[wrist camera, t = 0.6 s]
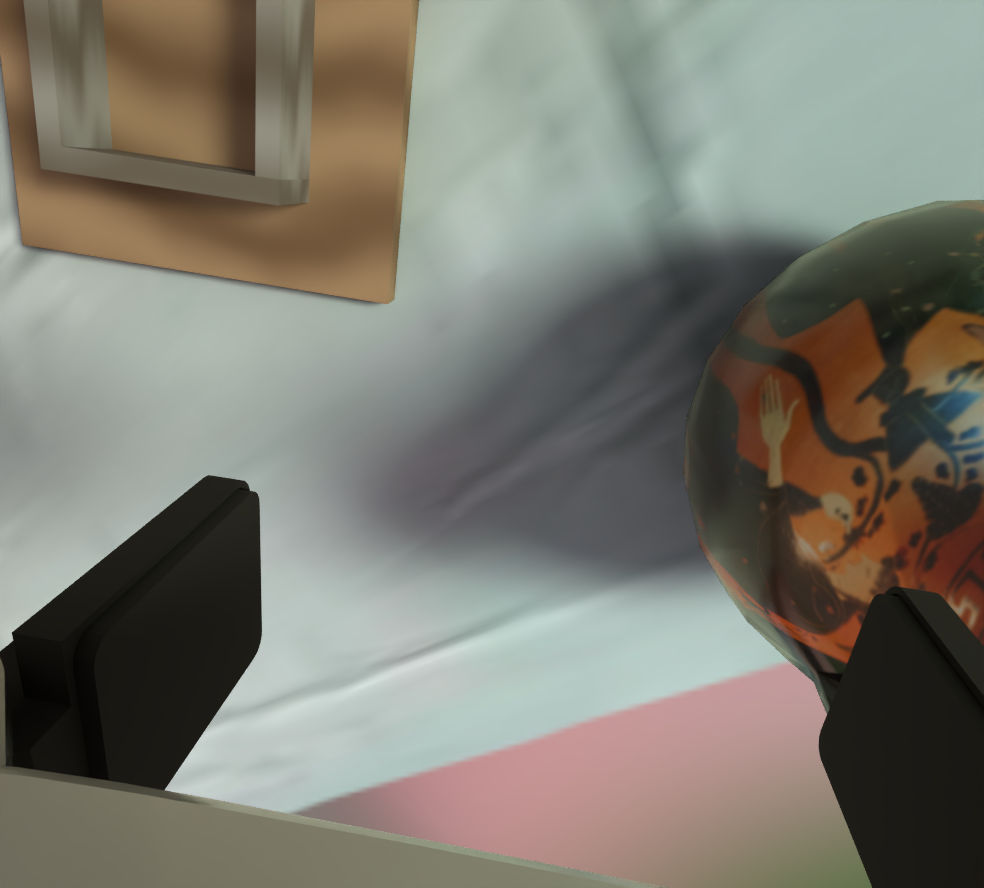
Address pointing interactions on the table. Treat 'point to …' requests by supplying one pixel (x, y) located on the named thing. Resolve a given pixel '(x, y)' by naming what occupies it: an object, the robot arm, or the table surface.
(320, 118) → the collar board
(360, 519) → the table surface
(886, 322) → the amphora vase
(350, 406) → the table surface
